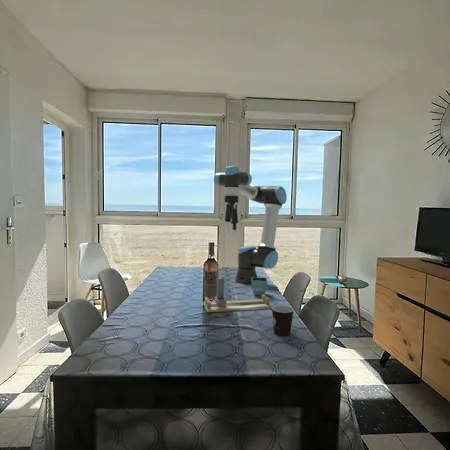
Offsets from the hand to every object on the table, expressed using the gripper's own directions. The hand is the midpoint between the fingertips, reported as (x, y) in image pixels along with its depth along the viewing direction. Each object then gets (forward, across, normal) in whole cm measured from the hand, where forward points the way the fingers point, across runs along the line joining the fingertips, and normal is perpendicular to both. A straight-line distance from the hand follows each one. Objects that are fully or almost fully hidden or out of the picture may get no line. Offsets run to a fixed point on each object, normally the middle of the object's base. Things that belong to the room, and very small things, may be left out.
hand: (230, 234), depth 175 cm
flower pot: (+35, -3, +18) cm, 39 cm away
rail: (+35, +16, 0) cm, 38 cm away
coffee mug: (+35, +50, +10) cm, 62 cm away
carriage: (+32, +16, -8) cm, 37 cm away
